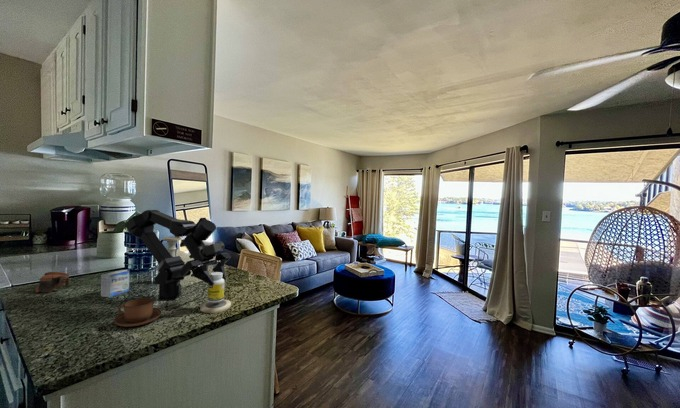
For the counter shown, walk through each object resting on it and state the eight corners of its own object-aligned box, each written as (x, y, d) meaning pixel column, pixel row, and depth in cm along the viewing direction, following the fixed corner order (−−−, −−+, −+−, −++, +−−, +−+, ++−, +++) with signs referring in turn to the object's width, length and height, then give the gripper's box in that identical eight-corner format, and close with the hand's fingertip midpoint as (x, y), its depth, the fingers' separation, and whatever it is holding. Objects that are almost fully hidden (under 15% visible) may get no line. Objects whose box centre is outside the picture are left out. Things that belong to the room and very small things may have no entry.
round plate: (196, 313, 93) (196, 309, 93) (205, 302, 102) (205, 299, 102) (227, 312, 94) (227, 308, 94) (233, 301, 104) (233, 298, 104)
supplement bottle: (204, 302, 96) (205, 274, 96) (212, 297, 101) (213, 270, 101) (219, 303, 96) (220, 275, 95) (226, 297, 101) (227, 271, 101)
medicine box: (109, 298, 104) (110, 275, 104) (100, 296, 105) (100, 274, 105) (129, 291, 112) (129, 270, 112) (120, 290, 113) (121, 269, 112)
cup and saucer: (107, 333, 78) (108, 312, 78) (121, 316, 89) (122, 297, 89) (157, 326, 83) (157, 306, 83) (164, 311, 94) (165, 293, 94)
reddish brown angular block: (26, 294, 106) (36, 273, 110) (55, 297, 114) (63, 278, 118) (48, 289, 104) (57, 268, 108) (76, 293, 112) (83, 273, 116)
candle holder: (156, 281, 125) (157, 237, 125) (176, 277, 133) (177, 235, 132) (165, 285, 121) (166, 239, 120) (185, 280, 128) (186, 237, 128)
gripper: (187, 237, 91) (211, 275, 87) (228, 232, 108) (250, 263, 105) (169, 258, 94) (192, 295, 90) (212, 249, 111) (232, 280, 107)
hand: (219, 282), depth 98 cm, fingers closed on supplement bottle, 5 cm apart
